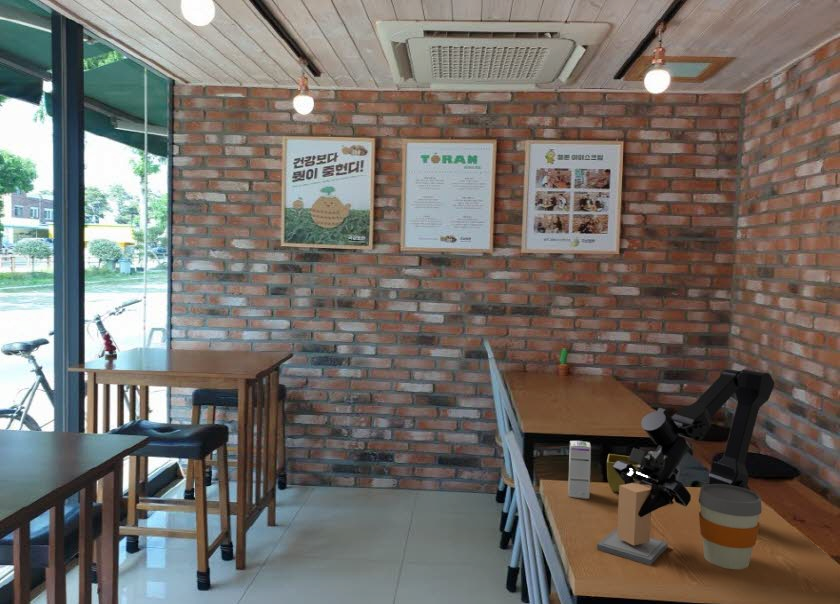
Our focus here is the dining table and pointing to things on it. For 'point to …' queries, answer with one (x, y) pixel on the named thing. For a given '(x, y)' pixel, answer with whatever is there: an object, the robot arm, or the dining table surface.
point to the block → (633, 514)
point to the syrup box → (579, 469)
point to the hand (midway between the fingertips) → (630, 511)
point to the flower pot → (612, 476)
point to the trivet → (633, 548)
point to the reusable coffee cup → (729, 524)
